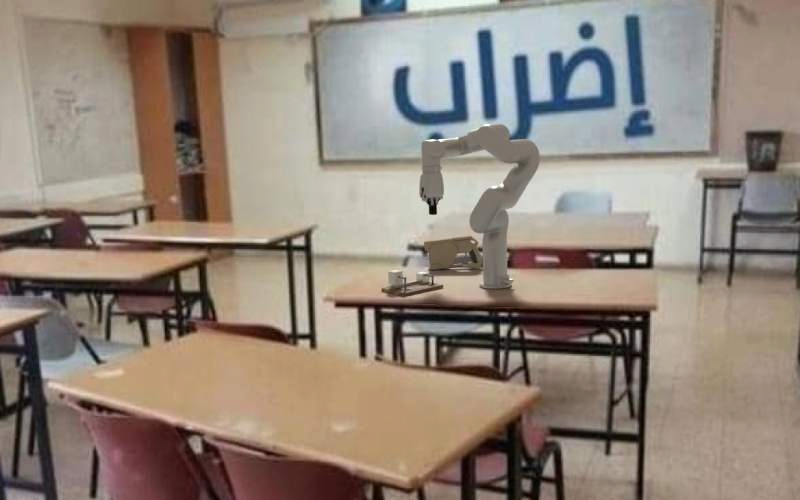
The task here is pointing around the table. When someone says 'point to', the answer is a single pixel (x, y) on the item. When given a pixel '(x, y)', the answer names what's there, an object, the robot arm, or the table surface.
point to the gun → (452, 252)
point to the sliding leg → (396, 278)
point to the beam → (420, 278)
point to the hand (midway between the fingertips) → (433, 214)
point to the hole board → (413, 289)
